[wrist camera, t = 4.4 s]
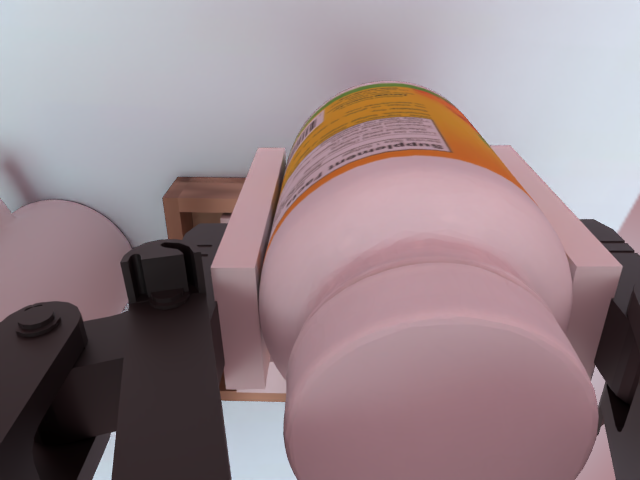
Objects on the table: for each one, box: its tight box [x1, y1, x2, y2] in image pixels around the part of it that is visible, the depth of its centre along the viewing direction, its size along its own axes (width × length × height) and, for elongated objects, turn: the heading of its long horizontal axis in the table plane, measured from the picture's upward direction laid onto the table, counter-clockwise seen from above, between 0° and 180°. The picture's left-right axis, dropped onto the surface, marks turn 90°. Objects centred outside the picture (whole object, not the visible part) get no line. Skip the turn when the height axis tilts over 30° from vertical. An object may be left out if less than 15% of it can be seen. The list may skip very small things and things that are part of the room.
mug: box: [0, 199, 132, 322], centre depth 28 cm, size 12×8×11 cm
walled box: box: [162, 177, 286, 402], centre depth 32 cm, size 16×14×3 cm
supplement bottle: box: [259, 81, 599, 480], centre depth 11 cm, size 5×5×10 cm
